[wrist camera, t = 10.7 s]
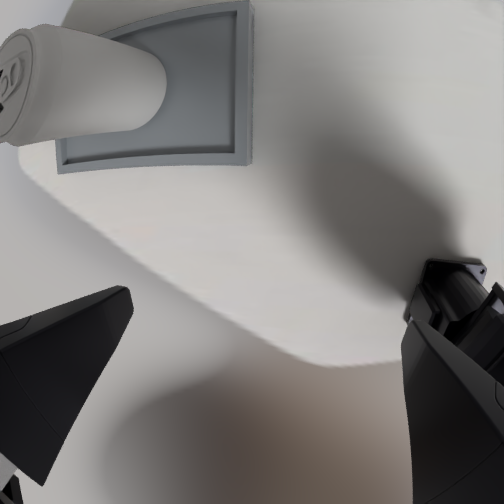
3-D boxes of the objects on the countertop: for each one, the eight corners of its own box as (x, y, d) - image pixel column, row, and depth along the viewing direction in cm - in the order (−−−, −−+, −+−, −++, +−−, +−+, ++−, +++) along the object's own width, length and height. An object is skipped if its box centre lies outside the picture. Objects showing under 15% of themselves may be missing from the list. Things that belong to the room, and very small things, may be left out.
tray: (253, 8, 14) (249, 0, 13) (252, 163, 19) (246, 165, 18) (69, 55, 18) (58, 54, 16) (69, 171, 22) (57, 174, 21)
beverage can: (100, 72, 17) (-22, 67, 7) (165, 40, 16) (42, -5, 5) (111, 140, 20) (-16, 169, 9) (179, 116, 18) (42, 117, 7)
